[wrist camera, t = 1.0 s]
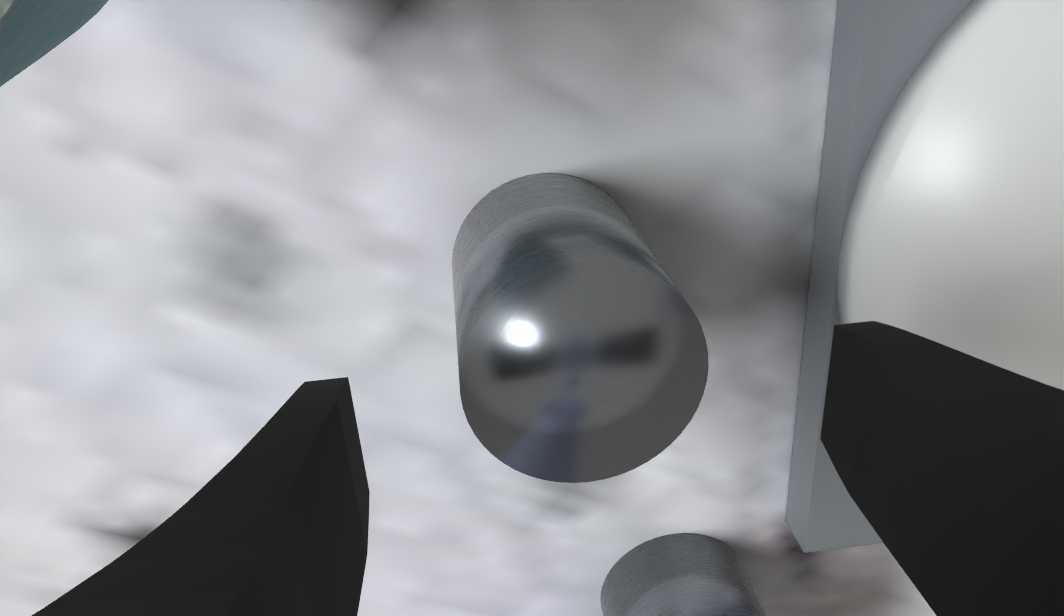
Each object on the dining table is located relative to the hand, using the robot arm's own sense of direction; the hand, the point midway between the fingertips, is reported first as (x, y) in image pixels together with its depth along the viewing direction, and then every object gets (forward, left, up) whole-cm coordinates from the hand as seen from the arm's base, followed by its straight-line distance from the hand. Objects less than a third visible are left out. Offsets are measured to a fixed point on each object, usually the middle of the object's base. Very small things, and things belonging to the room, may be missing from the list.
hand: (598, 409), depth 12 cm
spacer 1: (0, 0, -6) cm, 6 cm away
